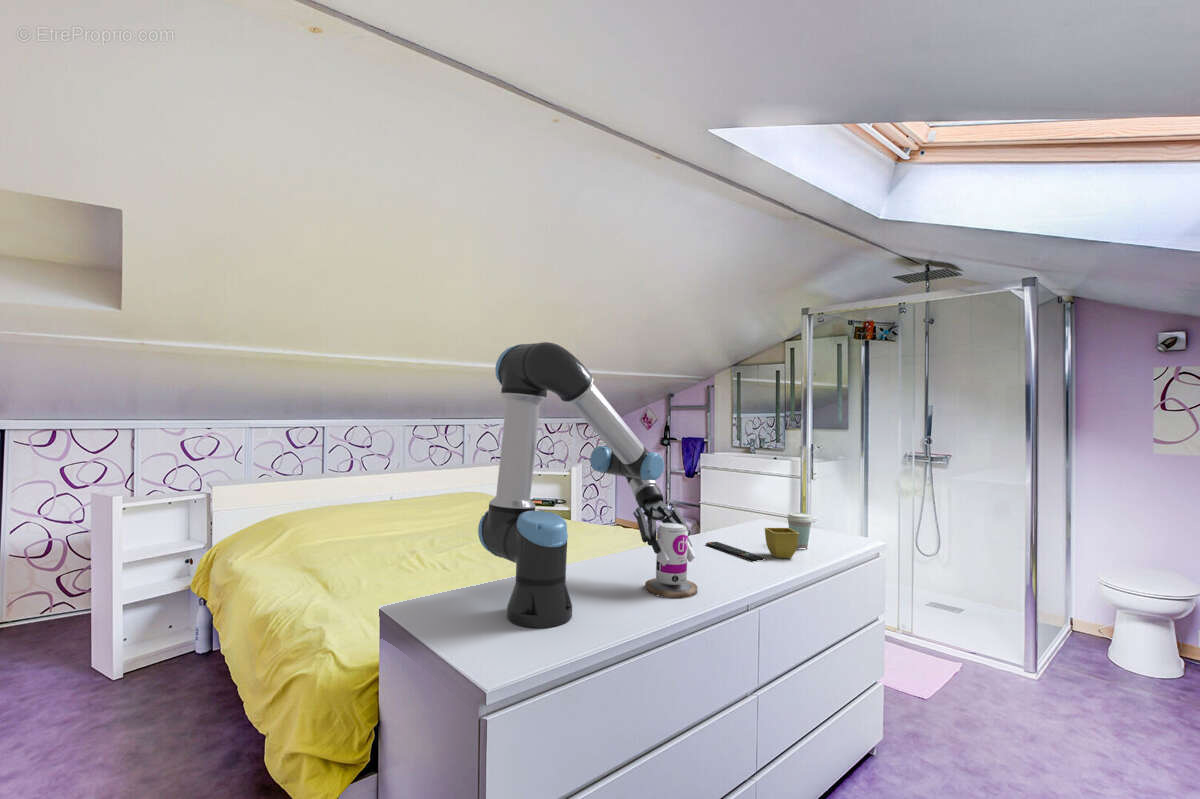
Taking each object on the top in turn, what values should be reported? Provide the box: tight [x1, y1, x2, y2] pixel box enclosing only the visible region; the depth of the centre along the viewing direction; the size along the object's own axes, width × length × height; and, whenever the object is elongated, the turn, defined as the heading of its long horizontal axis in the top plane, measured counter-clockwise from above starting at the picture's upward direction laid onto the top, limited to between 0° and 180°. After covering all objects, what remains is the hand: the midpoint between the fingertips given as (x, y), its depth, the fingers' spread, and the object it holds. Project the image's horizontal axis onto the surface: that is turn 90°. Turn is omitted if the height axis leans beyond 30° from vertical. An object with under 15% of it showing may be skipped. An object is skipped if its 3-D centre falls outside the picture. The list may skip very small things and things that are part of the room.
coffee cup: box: [786, 512, 813, 549], centre depth 208 cm, size 8×9×12 cm
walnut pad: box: [644, 577, 698, 599], centre depth 156 cm, size 14×14×1 cm
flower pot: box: [764, 527, 799, 559], centre depth 195 cm, size 9×9×9 cm
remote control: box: [705, 541, 765, 562], centre depth 199 cm, size 5×24×1 cm, turn 29°
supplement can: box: [655, 522, 689, 585], centre depth 156 cm, size 8×8×15 cm
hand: (679, 561), depth 153 cm, fingers closed on supplement can, 8 cm apart
